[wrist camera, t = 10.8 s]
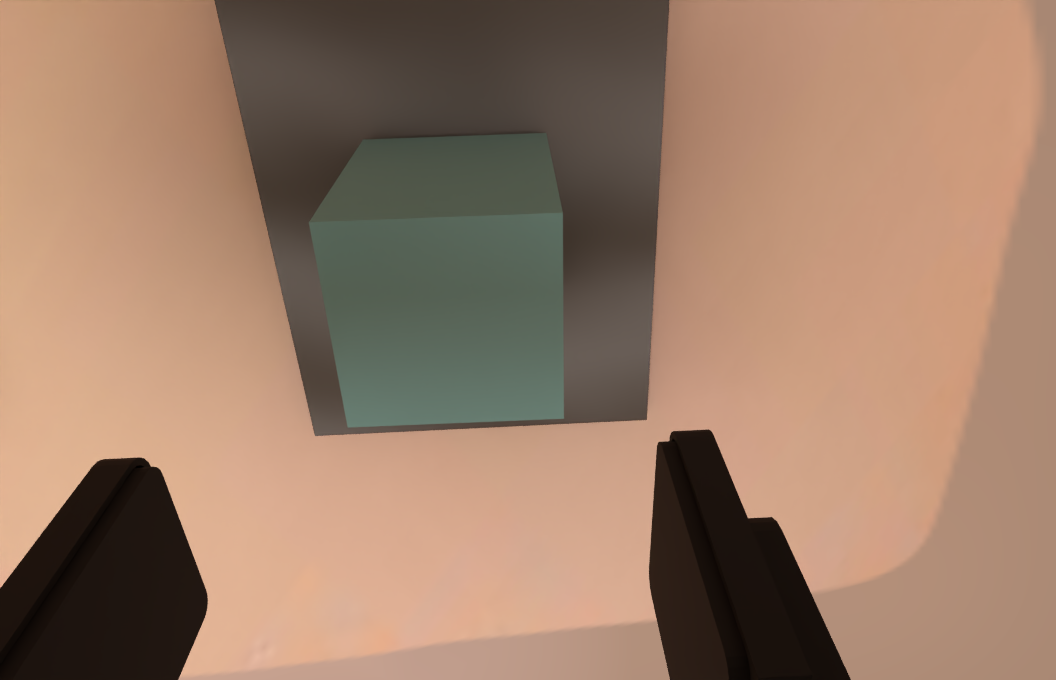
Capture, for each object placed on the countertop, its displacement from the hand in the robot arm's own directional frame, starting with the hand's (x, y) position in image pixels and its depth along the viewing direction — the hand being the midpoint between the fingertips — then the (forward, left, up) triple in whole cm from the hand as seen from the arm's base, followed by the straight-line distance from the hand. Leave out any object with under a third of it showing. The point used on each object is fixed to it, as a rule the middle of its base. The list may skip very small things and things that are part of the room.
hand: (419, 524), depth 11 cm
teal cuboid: (0, 0, -13) cm, 13 cm away
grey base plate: (0, 0, -14) cm, 14 cm away
